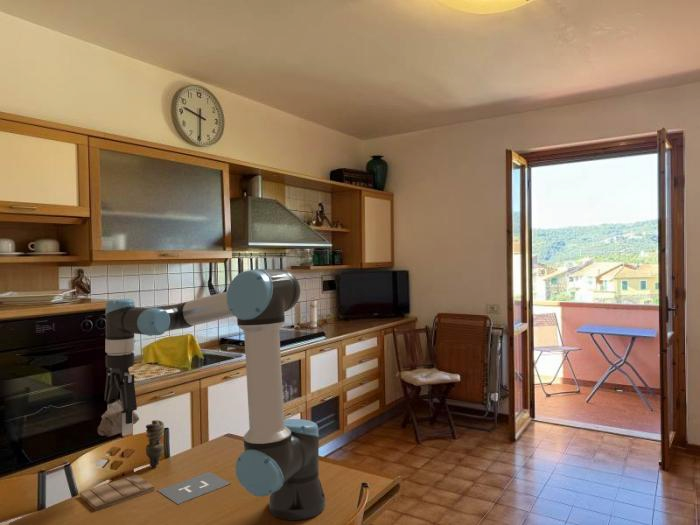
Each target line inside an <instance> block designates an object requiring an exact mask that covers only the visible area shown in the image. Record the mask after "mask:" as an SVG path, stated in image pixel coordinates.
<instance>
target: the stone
mask: <svg viewBox="0 0 700 525" xmlns="http://www.w3.org/2000/svg"><path fill="white" fill-rule="evenodd" d="M122 411H123V405H122V400H120V399H118V400H117V401H116V402H114V403H112V404H111V406H110V407H109V409H108V408H107V410H106V411H105V412H104V413H103V414H102V415H100V416H101V421H100V424H99V425H98V427H97V434H98V435H99V436H101V437H103V436H106V437H111V436H115V435H118V434H122V413H121V412H122ZM139 421H140V416H139V415H138V414H137V413H136V412H135V410H134V411H133V425H135V424H136V423H137V422H139Z"/></svg>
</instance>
